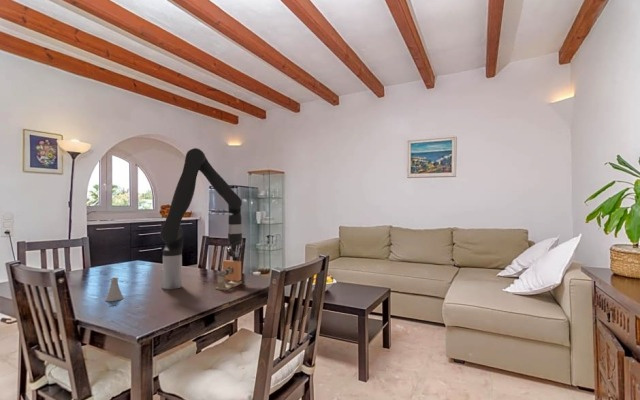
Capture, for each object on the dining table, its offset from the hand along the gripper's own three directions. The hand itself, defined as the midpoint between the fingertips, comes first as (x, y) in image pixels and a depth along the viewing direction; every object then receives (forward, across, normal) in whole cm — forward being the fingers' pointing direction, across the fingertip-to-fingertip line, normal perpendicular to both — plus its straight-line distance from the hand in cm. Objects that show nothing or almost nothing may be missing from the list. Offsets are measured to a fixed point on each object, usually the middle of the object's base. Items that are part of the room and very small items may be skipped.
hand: (235, 263), depth 182 cm
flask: (+11, +44, -36) cm, 58 cm away
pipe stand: (+11, +6, 0) cm, 12 cm away
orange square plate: (+8, +3, 0) cm, 8 cm away
